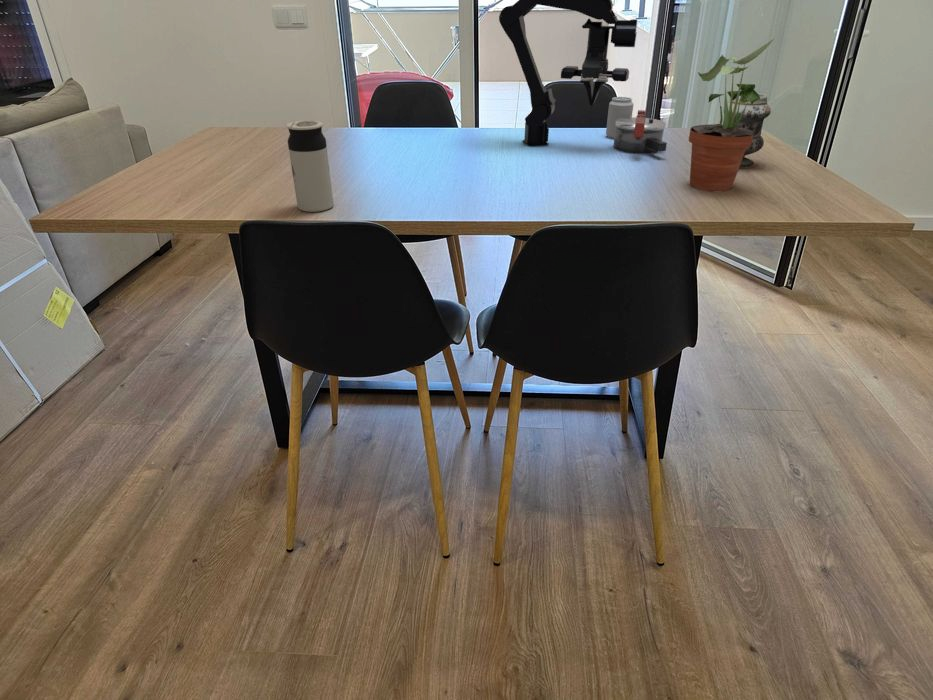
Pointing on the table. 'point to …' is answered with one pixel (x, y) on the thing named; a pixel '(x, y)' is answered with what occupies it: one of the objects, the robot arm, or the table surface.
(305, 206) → the travel mug
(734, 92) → the potted plant
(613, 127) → the can
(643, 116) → the lid
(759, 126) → the weathered urn vase
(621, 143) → the dark grey curved piece
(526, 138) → the robot arm
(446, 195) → the table surface
